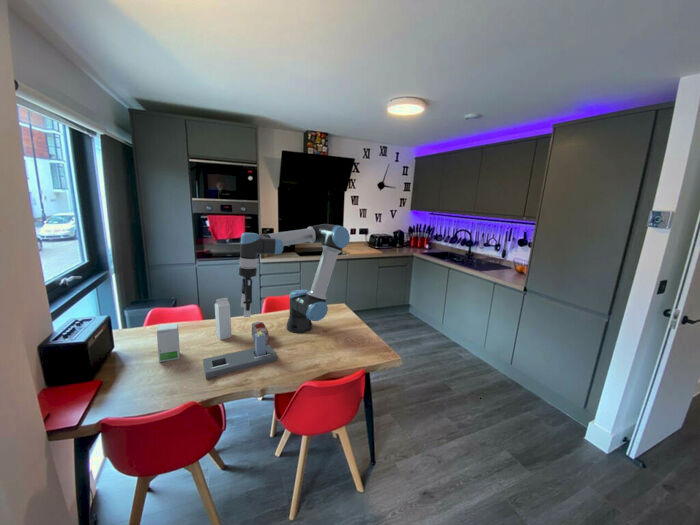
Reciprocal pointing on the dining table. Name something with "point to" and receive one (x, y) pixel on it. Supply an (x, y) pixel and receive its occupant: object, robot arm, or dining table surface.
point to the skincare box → (168, 342)
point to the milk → (223, 318)
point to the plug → (260, 344)
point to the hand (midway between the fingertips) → (245, 311)
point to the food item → (257, 328)
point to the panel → (236, 361)
